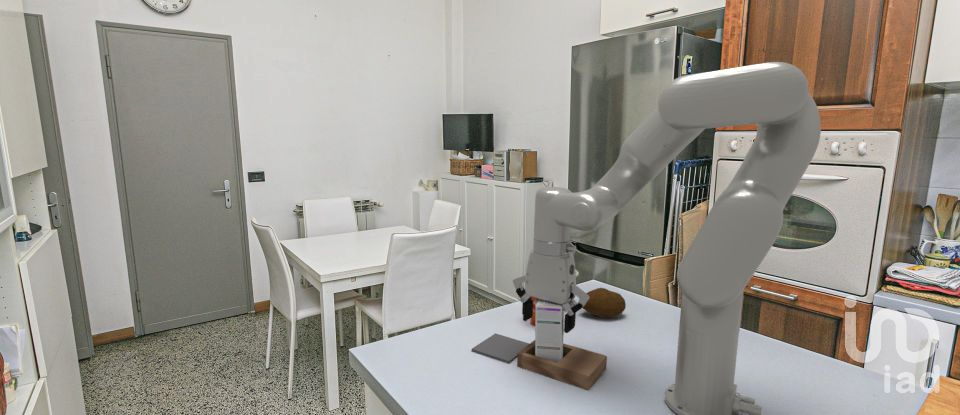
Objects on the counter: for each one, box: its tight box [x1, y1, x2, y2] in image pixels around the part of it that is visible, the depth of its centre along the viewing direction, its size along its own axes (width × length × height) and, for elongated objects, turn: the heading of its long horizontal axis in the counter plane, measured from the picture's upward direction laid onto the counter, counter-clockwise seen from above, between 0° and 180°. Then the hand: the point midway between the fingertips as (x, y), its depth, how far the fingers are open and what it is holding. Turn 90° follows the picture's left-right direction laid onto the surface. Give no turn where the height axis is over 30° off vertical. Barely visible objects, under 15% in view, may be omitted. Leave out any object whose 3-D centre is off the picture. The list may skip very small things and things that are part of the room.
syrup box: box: [534, 299, 565, 363], centre depth 99 cm, size 6×6×14 cm
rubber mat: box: [471, 332, 531, 364], centre depth 107 cm, size 10×10×1 cm
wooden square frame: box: [516, 339, 608, 391], centre depth 98 cm, size 16×10×3 cm, turn 55°
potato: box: [582, 287, 627, 319], centre depth 126 cm, size 8×12×8 cm, turn 96°
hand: (547, 324), depth 99 cm, fingers open, 9 cm apart
